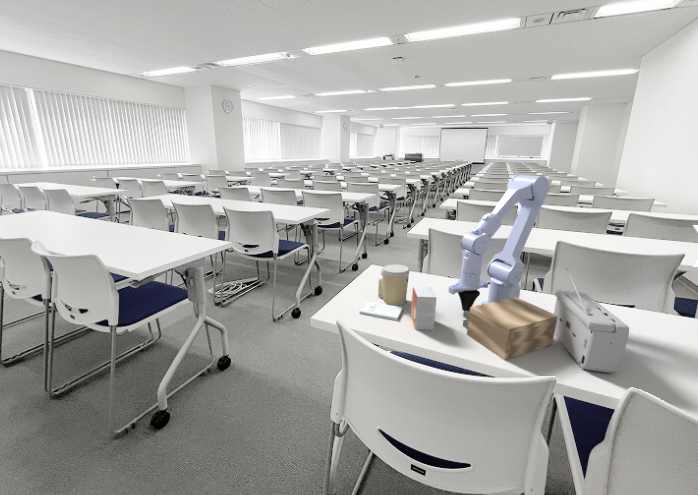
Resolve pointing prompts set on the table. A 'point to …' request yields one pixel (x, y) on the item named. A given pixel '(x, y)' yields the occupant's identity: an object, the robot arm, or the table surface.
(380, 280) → the supplement bottle
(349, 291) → the table surface
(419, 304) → the small box
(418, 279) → the table surface
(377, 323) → the table surface
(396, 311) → the external hard drive
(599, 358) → the stereo radio cassette player
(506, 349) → the wood grain block
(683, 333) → the table surface
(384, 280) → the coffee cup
